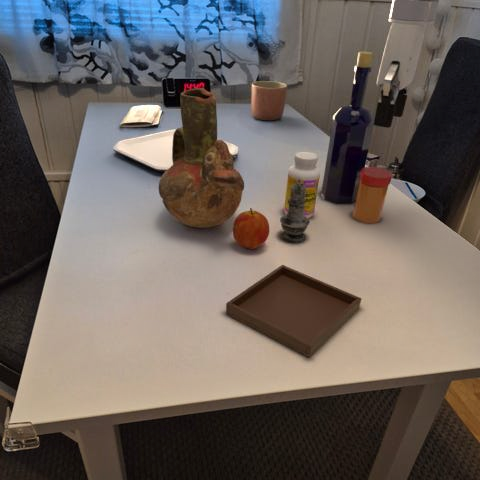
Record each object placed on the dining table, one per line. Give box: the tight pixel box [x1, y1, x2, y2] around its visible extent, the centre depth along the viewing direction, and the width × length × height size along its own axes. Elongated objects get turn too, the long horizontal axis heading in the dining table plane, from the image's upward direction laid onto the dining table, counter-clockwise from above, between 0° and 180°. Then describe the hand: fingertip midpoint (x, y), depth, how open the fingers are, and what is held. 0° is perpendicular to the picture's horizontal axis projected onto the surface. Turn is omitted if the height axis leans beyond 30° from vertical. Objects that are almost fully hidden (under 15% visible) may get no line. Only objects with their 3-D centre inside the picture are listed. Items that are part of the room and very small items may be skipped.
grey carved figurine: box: [279, 179, 311, 244], centre depth 86 cm, size 6×6×12 cm
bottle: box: [320, 51, 375, 205], centre depth 98 cm, size 9×9×30 cm
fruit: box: [232, 207, 270, 250], centre depth 84 cm, size 7×7×8 cm
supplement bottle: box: [283, 151, 321, 219], centre depth 95 cm, size 7×7×13 cm
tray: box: [225, 264, 362, 358], centre depth 70 cm, size 15×15×2 cm
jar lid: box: [359, 166, 393, 187], centre depth 93 cm, size 6×6×2 cm
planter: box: [250, 80, 288, 121], centre depth 159 cm, size 12×12×11 cm
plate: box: [112, 128, 239, 173], centre depth 126 cm, size 29×29×2 cm
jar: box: [352, 182, 389, 224], centre depth 96 cm, size 6×6×10 cm
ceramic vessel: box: [158, 87, 245, 229], centre depth 85 cm, size 17×26×25 cm, turn 29°
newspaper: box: [119, 104, 163, 128], centre depth 155 cm, size 23×12×2 cm, turn 1°
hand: (388, 120), depth 86 cm, fingers open, 8 cm apart
